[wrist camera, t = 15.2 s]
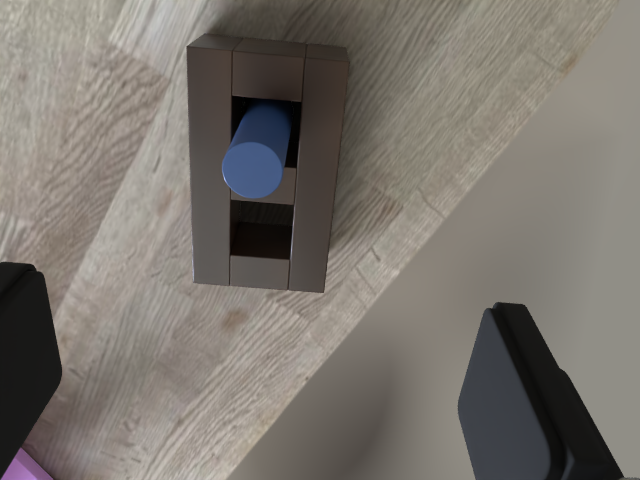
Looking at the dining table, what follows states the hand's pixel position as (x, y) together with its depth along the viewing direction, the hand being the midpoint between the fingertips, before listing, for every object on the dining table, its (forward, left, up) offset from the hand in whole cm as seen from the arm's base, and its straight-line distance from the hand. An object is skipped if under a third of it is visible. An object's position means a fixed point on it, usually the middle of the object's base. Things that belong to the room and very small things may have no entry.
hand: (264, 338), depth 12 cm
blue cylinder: (+2, +2, -27) cm, 27 cm away
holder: (+2, +6, -27) cm, 27 cm away
